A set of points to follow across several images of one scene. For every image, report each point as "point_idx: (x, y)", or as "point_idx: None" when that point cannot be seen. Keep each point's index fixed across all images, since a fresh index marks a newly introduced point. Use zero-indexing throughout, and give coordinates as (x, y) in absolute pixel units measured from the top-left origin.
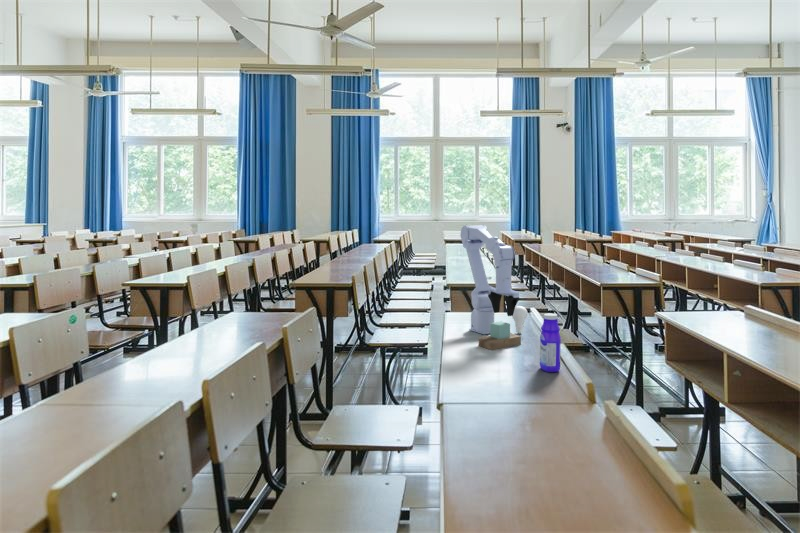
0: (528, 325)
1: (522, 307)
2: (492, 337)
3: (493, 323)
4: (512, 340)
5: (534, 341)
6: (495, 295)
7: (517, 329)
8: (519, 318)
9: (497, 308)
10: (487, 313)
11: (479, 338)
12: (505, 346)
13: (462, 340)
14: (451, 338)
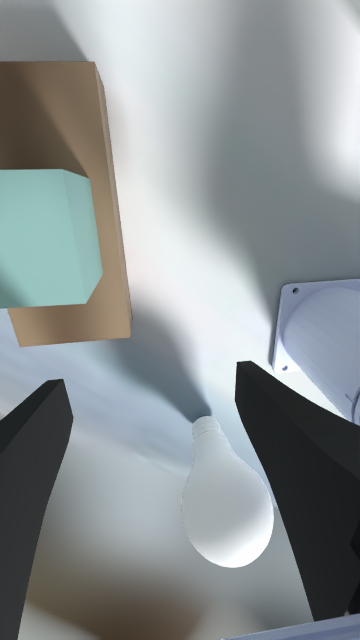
0: None
1: (214, 559)
2: None
3: (27, 182)
4: None
5: None
6: (344, 555)
7: (204, 425)
8: (193, 474)
9: (247, 410)
10: (357, 369)
11: (83, 62)
12: None
13: (269, 84)
14: (353, 48)
